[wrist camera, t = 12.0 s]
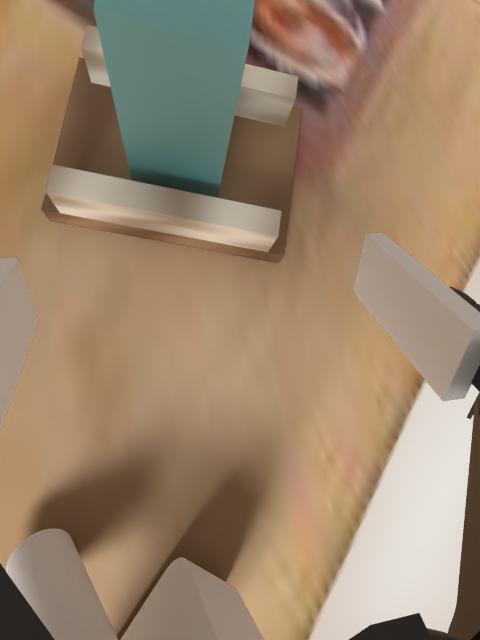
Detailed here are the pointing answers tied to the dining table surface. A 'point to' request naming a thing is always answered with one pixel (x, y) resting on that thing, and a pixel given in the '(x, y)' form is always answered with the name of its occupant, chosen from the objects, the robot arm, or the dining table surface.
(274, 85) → the display stand
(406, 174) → the dining table surface
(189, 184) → the teal upright prism
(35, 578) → the wall hook
